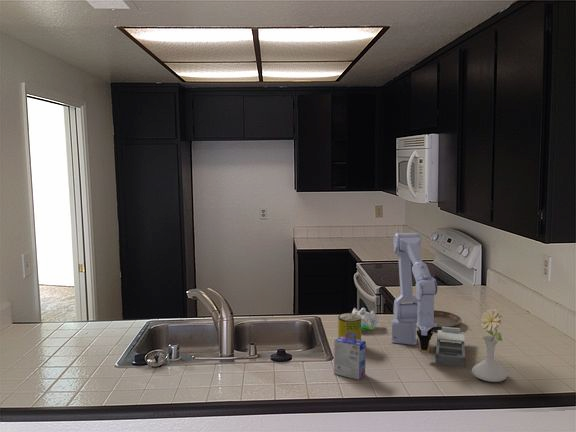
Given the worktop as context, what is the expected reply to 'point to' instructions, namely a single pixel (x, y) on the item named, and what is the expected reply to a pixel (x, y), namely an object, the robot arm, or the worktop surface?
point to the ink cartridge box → (349, 356)
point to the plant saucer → (445, 320)
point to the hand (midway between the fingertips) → (424, 347)
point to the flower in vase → (490, 349)
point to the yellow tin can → (349, 325)
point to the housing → (450, 354)
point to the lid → (450, 334)
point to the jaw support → (367, 318)
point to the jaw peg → (425, 350)
